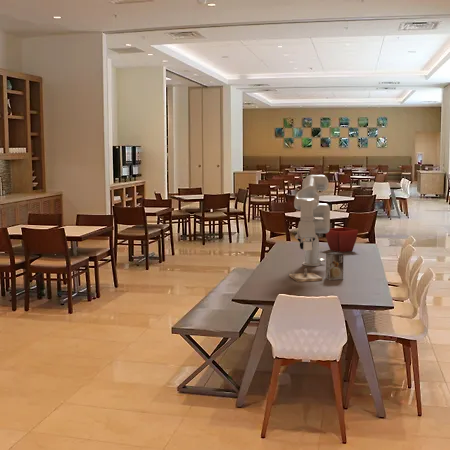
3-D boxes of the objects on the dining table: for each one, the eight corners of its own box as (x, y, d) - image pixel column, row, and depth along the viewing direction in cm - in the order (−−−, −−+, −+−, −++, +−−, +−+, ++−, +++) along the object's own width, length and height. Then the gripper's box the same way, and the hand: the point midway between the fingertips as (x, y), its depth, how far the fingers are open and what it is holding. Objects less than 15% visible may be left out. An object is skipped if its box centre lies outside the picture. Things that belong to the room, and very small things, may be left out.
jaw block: (307, 248, 386) (308, 240, 386) (311, 250, 379) (312, 242, 379) (300, 248, 385) (300, 240, 384) (304, 250, 378) (304, 242, 378)
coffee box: (338, 277, 388) (339, 252, 386) (343, 279, 382) (344, 253, 380) (325, 278, 386) (325, 252, 384) (329, 280, 380) (330, 254, 377)
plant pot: (323, 249, 487) (324, 228, 485) (343, 247, 495) (344, 227, 493) (337, 253, 470) (338, 231, 468) (358, 251, 478) (358, 230, 476)
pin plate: (313, 275, 394) (313, 265, 394) (322, 280, 379) (322, 270, 378) (289, 276, 391) (289, 266, 390) (297, 281, 375) (297, 272, 375)
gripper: (317, 218, 385) (316, 247, 388) (291, 219, 382) (290, 248, 384) (321, 219, 378) (321, 249, 380) (295, 220, 374) (295, 250, 377)
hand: (306, 248), depth 382 cm, fingers closed on jaw block, 5 cm apart
